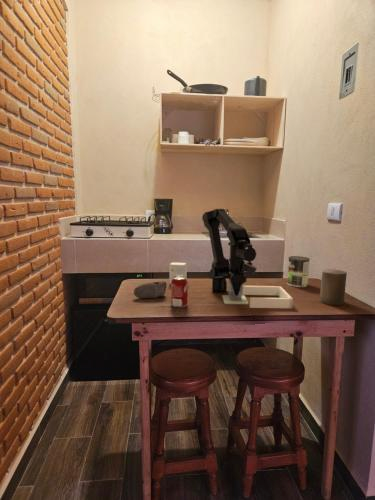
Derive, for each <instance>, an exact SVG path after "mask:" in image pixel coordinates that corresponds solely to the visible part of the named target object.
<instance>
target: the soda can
mask: <svg viewBox="0 0 375 500" xmlns="http://www.w3.org/2000/svg"><path fill="white" fill-rule="evenodd" d="M188 283H189V282H188V280H186V277H185V276H174V277H173V280H172V281H171V284H170V295H171V296H170V304H171V307H174V308H176V307H177V309H178V308H179V309H180V308H181V309H183V308H184V307H186V306H188V298H189V297H188V291H189V289H188V288H189V287H188V286H189V285H188Z"/></svg>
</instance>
